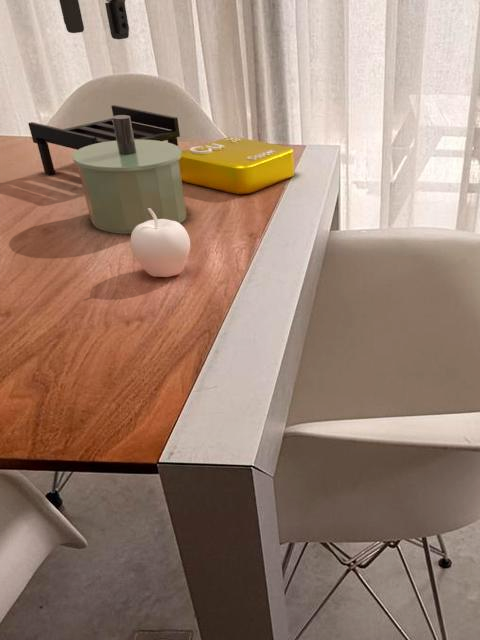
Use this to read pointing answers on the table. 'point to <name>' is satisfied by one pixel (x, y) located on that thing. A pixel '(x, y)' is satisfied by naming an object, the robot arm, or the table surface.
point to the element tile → (237, 165)
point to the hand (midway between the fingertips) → (98, 35)
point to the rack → (103, 132)
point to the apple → (160, 246)
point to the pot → (133, 196)
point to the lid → (126, 151)
